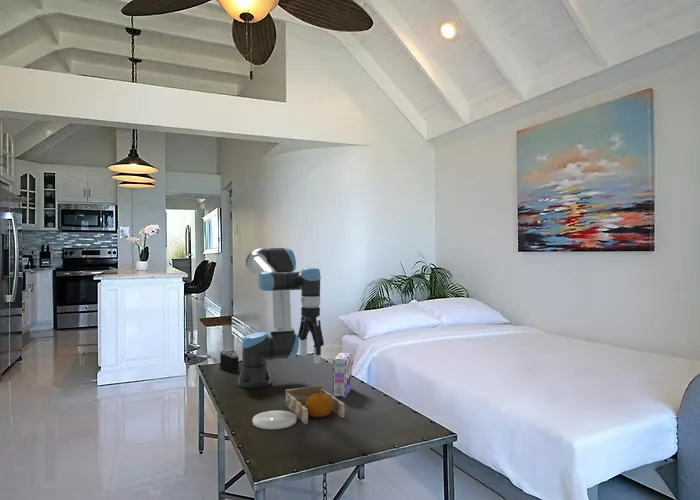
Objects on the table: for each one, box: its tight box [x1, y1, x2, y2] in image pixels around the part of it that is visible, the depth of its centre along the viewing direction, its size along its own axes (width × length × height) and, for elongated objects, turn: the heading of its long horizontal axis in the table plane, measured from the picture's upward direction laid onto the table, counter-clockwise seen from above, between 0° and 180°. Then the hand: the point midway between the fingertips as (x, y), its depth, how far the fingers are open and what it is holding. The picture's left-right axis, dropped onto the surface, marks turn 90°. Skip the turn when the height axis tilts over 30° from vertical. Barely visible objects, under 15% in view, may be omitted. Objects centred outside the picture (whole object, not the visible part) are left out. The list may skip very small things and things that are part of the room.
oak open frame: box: [284, 384, 346, 425], centre depth 180 cm, size 23×16×6 cm
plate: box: [252, 409, 298, 431], centre depth 168 cm, size 16×16×1 cm
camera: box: [219, 348, 240, 373], centre depth 244 cm, size 15×7×10 cm, turn 46°
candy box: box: [332, 352, 353, 398], centre depth 203 cm, size 14×6×16 cm, turn 168°
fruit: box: [304, 393, 333, 418], centre depth 175 cm, size 10×10×8 cm
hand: (310, 359), depth 184 cm, fingers open, 13 cm apart
